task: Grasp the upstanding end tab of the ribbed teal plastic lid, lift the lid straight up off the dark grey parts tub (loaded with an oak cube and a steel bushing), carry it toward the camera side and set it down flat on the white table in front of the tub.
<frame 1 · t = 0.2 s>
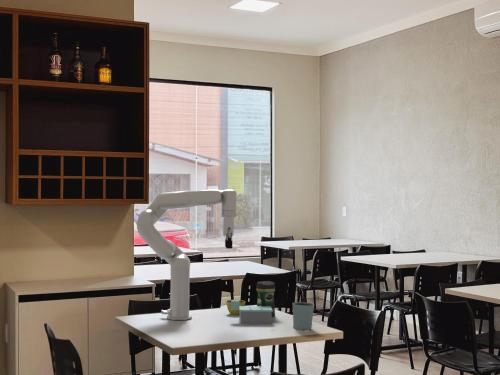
hand: (228, 247, 354), 36 cm above the table, tool pointing down, fingers open, 9 cm apart
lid: (255, 309, 343), point 6 cm above the table, touching tub
flower pot: (235, 315, 366), on the table
grey-blue tapered cup: (302, 329, 330), on the table
oak cube: (249, 321, 343), point 1 cm above the table, touching tub
coffee jar: (265, 317, 360), on the table
steel bushing: (262, 321, 344), point 1 cm above the table, touching tub
tub: (255, 322, 343), on the table
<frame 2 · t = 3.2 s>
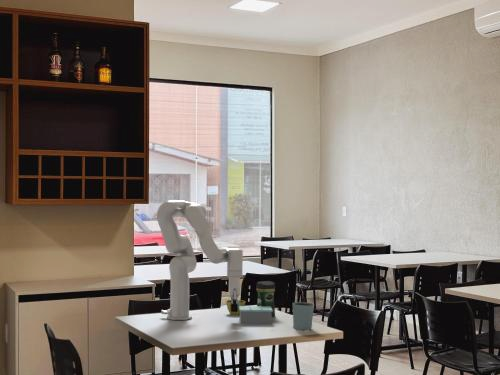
hand: (234, 310, 343), 6 cm above the table, tool pointing down, fingers closed on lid, 2 cm apart
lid: (255, 309, 343), point 7 cm above the table, touching gripper, tub
everything else where it was.
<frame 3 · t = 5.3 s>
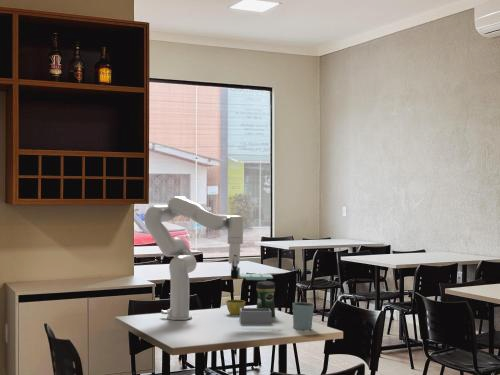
hand: (234, 277, 343), 22 cm above the table, tool pointing down, fingers closed on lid, 2 cm apart
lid: (255, 276, 344), point 23 cm above the table, touching gripper
everything else where it was.
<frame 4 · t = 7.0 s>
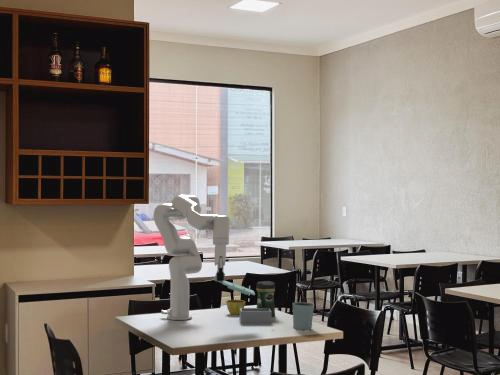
hand: (220, 280, 330), 23 cm above the table, tool pointing down, fingers closed on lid, 2 cm apart
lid: (237, 288, 330), point 19 cm above the table, tilted 19°, touching gripper
everything else where it was.
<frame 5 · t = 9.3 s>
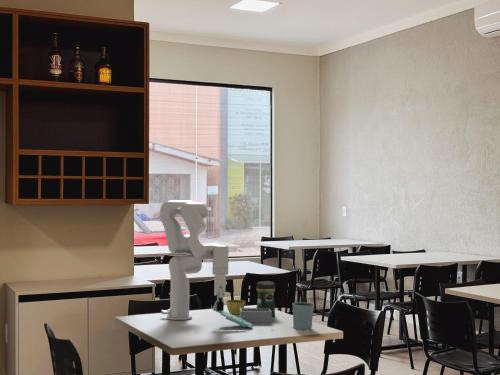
hand: (220, 309, 329), 9 cm above the table, tool pointing down, fingers closed on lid, 2 cm apart
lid: (235, 319, 330), point 4 cm above the table, tilted 23°, touching gripper
everything else where it was.
when the fingers open (2 cm above the table, at t = 11.1 s): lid stays where it is, point 1 cm above the table.
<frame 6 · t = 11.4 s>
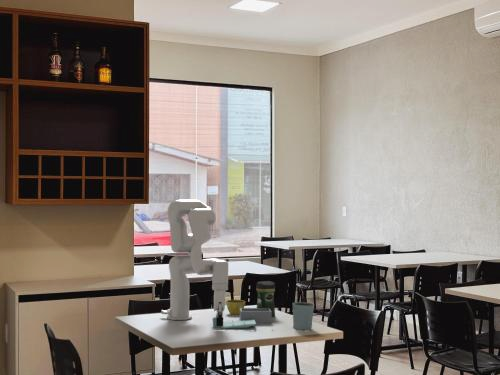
hand: (219, 324, 329), 2 cm above the table, tool pointing down, fingers open, 6 cm apart
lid: (238, 324, 330), point 1 cm above the table, tilted 6°
everything else where it was.
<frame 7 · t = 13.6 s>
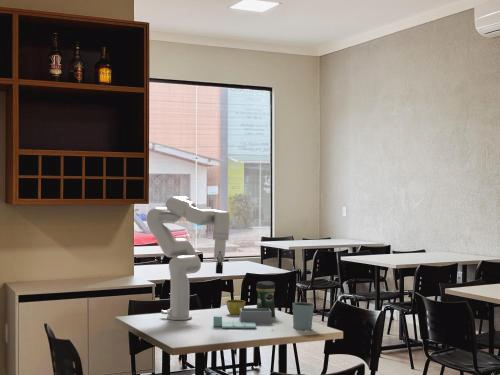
hand: (219, 272, 336), 26 cm above the table, tool pointing down, fingers open, 9 cm apart
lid: (238, 325, 330), point 1 cm above the table
everything else where it was.
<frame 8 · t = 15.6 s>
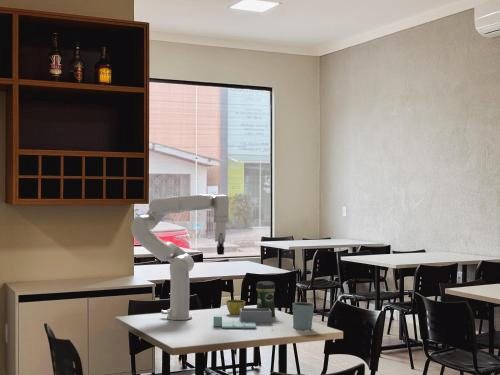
hand: (220, 253, 349), 33 cm above the table, tool pointing down, fingers open, 9 cm apart
nothing on the table moved.
at the end: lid inside the target area (2.0 cm from its centre), point 0.9 cm above the table; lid touching table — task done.
